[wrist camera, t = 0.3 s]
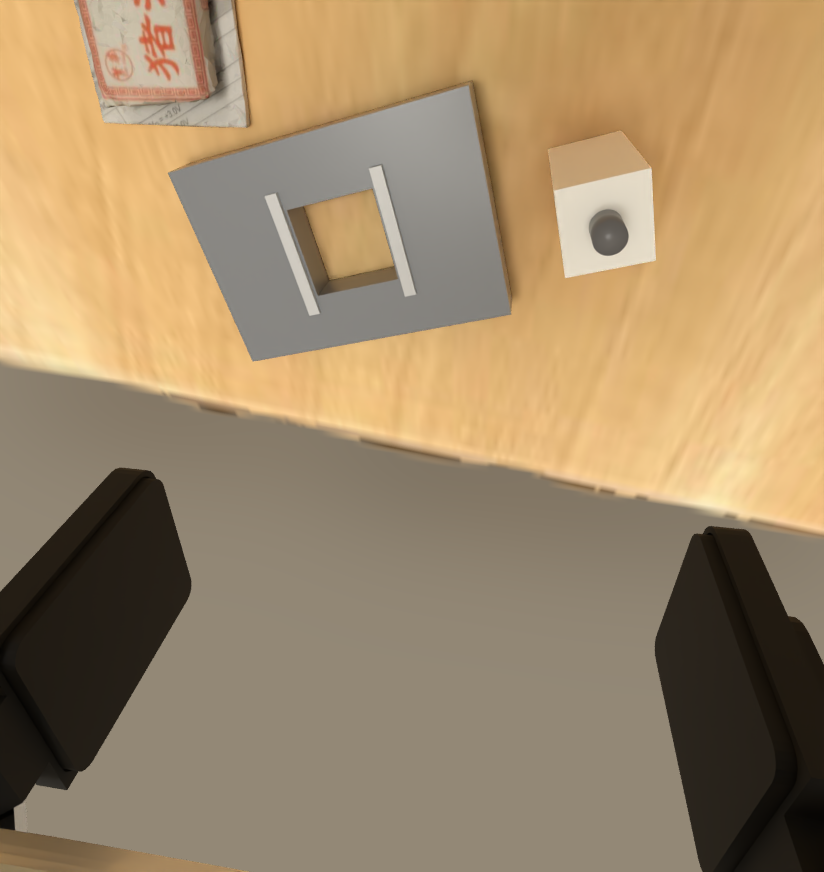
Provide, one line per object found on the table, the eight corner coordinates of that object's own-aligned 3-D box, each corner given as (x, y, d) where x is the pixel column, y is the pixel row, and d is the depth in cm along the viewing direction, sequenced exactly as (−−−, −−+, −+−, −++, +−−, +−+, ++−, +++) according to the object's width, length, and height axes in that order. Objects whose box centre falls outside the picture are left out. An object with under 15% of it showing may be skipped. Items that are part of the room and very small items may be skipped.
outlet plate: (188, 163, 42) (165, 173, 39) (472, 80, 36) (468, 85, 33) (266, 344, 49) (251, 363, 46) (511, 297, 43) (510, 316, 41)
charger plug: (547, 148, 38) (555, 201, 27) (621, 130, 36) (659, 177, 26) (556, 219, 40) (567, 292, 29) (626, 203, 39) (663, 274, 28)
